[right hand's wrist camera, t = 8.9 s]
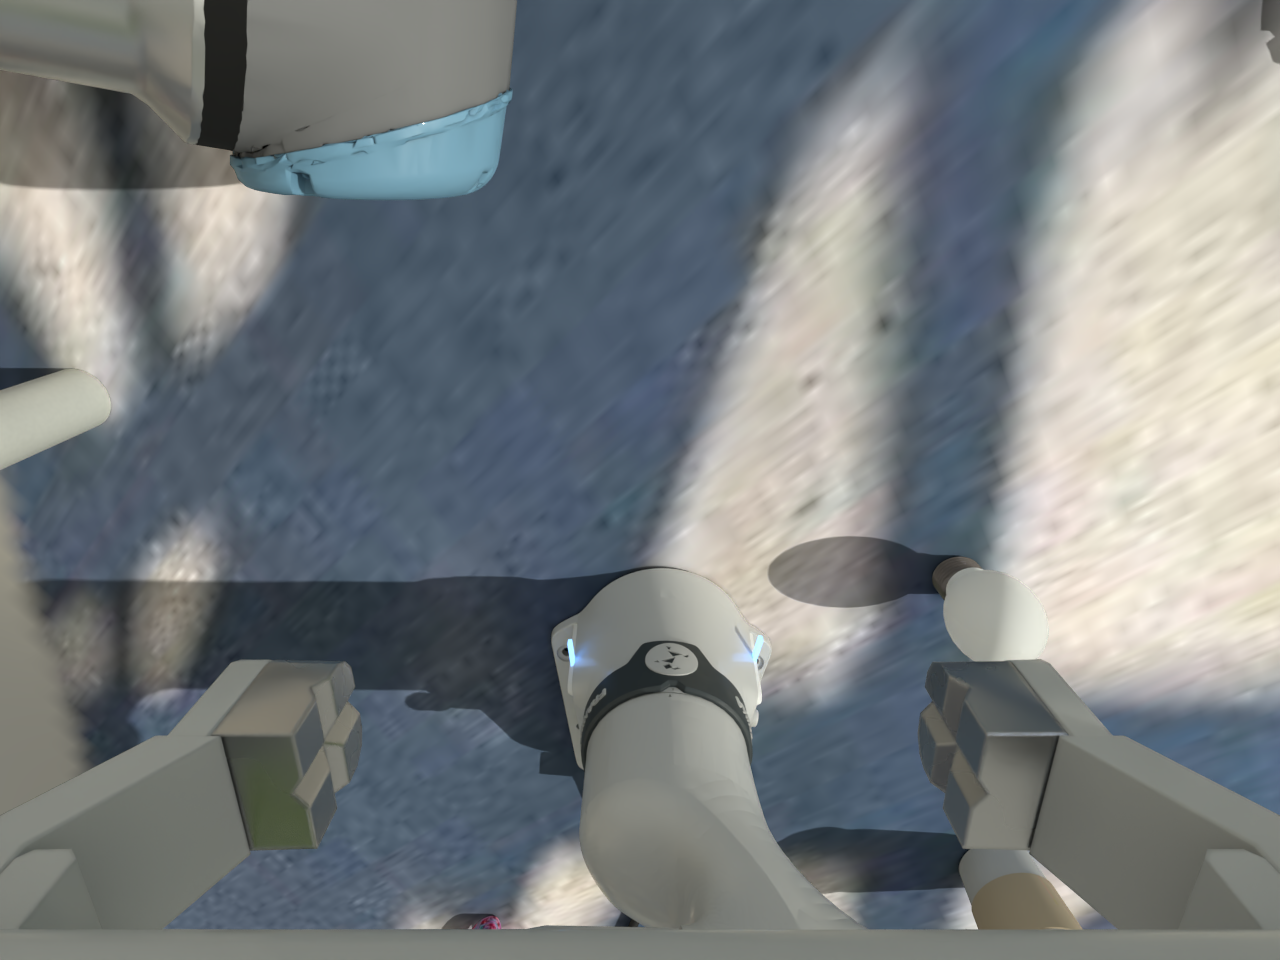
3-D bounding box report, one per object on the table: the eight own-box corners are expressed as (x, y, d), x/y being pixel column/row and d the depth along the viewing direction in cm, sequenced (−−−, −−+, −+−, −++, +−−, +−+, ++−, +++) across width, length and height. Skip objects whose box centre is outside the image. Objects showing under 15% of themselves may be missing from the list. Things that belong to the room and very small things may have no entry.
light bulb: (907, 604, 63) (959, 686, 53) (931, 532, 60) (990, 604, 50) (984, 614, 63) (1050, 698, 53) (1011, 544, 61) (1086, 617, 50)
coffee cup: (935, 849, 73) (1005, 1006, 59) (1026, 817, 72) (1119, 971, 58) (964, 908, 76) (1036, 1071, 62) (1051, 879, 75) (1145, 1039, 61)
